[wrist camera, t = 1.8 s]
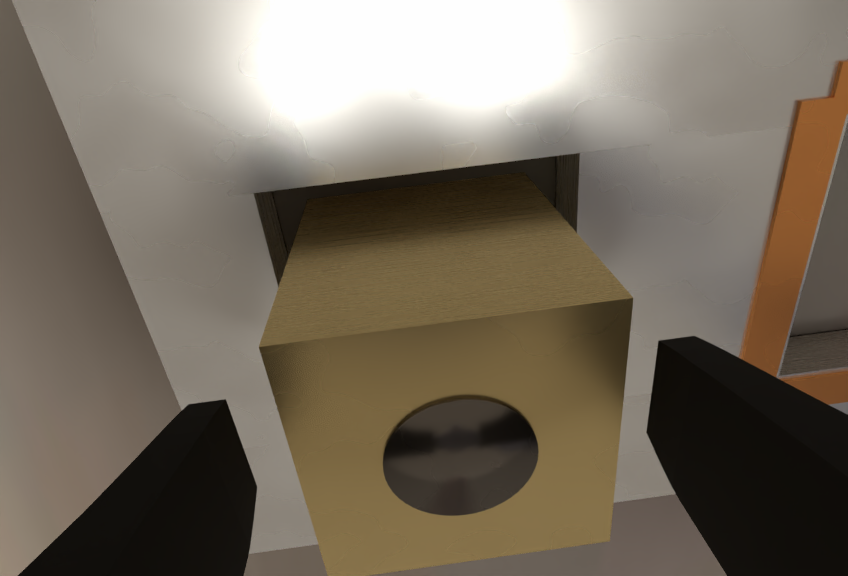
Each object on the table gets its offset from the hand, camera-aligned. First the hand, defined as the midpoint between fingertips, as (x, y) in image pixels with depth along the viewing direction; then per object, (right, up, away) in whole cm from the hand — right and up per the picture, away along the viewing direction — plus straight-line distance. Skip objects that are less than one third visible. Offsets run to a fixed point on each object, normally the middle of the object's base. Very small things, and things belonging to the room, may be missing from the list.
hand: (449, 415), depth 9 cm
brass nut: (0, +2, +4) cm, 5 cm away
